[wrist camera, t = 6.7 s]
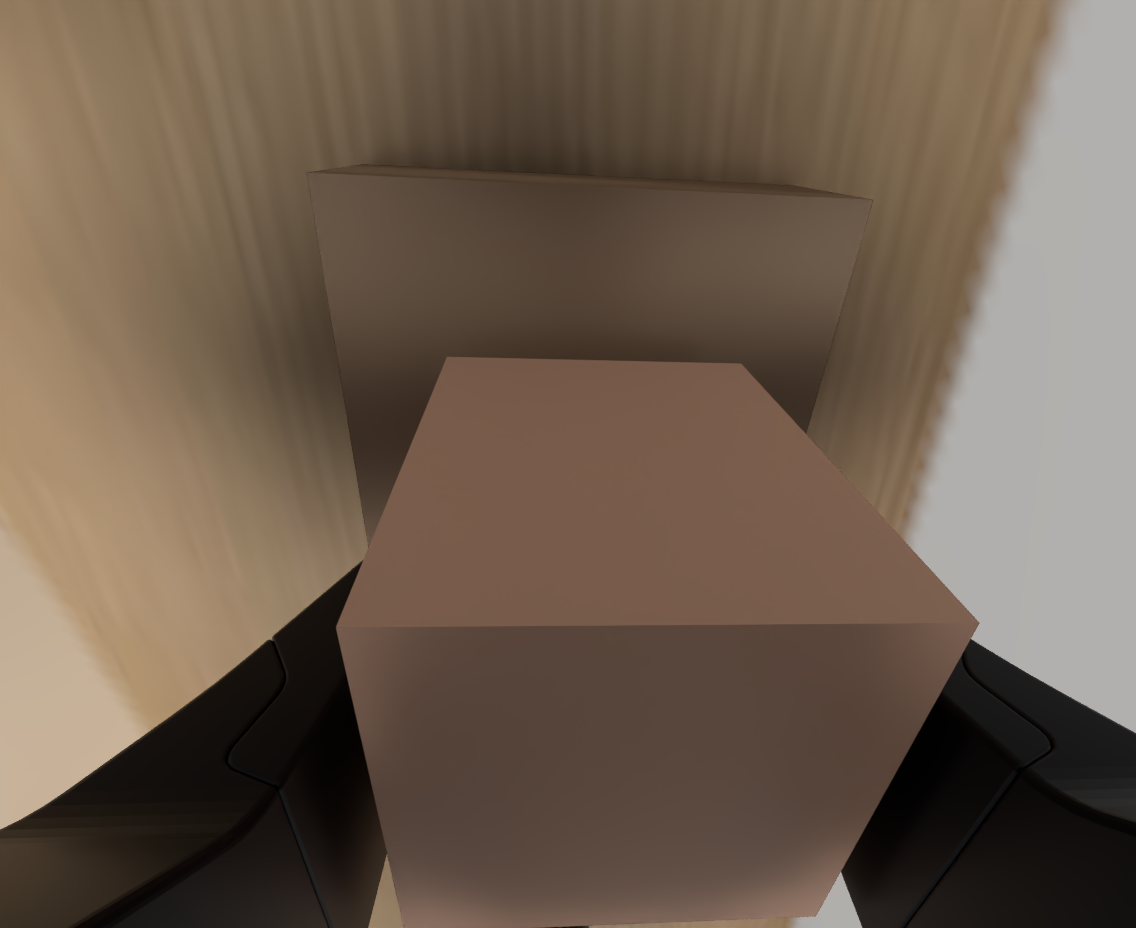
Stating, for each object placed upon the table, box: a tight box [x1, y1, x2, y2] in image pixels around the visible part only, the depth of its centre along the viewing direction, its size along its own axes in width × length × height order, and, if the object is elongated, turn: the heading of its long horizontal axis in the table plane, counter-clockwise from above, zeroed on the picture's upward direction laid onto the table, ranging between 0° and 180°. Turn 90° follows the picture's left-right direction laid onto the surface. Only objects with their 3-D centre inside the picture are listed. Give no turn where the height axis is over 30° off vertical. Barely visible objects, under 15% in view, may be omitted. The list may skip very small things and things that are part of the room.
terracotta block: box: [336, 357, 979, 928], centre depth 8 cm, size 5×5×6 cm
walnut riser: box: [307, 164, 873, 548], centre depth 14 cm, size 10×10×4 cm
